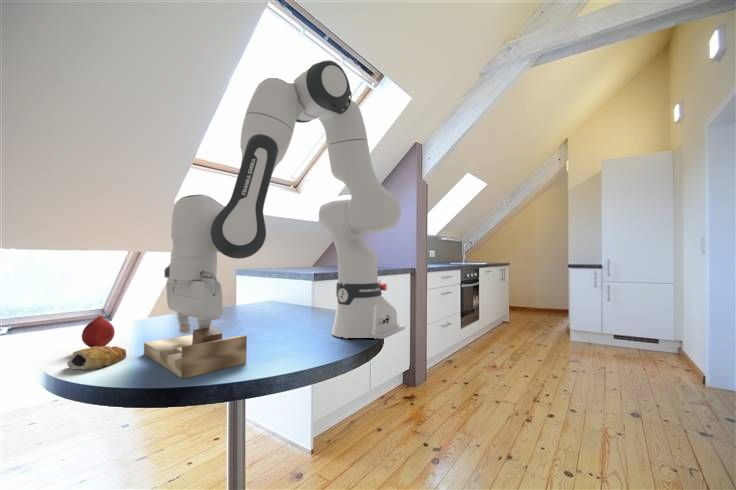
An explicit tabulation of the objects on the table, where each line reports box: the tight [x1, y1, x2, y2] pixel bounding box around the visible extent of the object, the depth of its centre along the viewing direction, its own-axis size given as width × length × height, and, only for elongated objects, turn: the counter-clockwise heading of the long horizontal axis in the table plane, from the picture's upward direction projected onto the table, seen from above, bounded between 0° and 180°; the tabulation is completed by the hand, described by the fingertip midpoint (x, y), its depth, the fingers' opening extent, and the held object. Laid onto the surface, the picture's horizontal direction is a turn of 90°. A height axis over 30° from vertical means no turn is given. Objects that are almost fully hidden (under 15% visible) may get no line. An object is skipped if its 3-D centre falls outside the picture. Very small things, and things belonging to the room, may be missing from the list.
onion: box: [81, 314, 116, 348], centre depth 78 cm, size 6×6×8 cm
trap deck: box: [143, 334, 248, 380], centre depth 73 cm, size 12×22×6 cm, turn 48°
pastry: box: [66, 345, 127, 371], centre depth 70 cm, size 9×7×4 cm
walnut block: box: [192, 326, 223, 345], centre depth 68 cm, size 4×4×4 cm
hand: (192, 336), depth 73 cm, fingers open, 7 cm apart
